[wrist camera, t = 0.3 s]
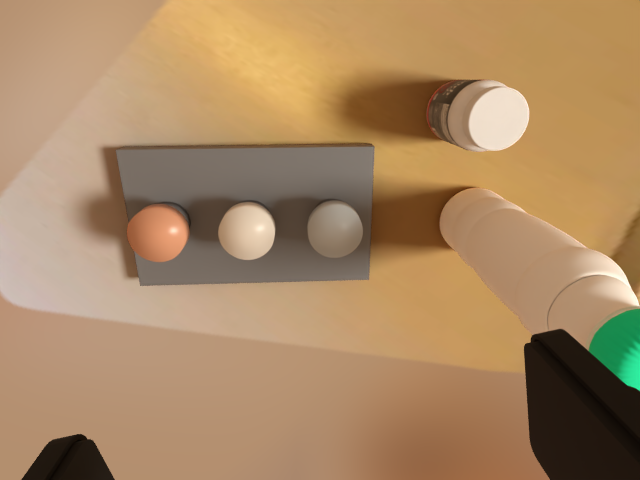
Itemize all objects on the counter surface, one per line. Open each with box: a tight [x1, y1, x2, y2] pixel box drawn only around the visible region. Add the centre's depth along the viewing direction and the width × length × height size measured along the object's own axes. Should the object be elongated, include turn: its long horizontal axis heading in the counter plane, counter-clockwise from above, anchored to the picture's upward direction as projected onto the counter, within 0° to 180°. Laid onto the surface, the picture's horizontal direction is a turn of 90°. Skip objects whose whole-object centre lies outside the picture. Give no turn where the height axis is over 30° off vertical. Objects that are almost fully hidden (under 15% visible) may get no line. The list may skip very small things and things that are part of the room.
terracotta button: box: [127, 204, 190, 262], centre depth 37 cm, size 5×5×2 cm
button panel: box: [116, 144, 374, 286], centre depth 41 cm, size 14×24×3 cm, turn 90°
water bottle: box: [440, 188, 640, 391], centre depth 33 cm, size 7×7×25 cm
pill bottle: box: [427, 80, 529, 152], centre depth 36 cm, size 6×6×10 cm
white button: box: [218, 202, 276, 260], centre depth 38 cm, size 5×5×2 cm
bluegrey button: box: [307, 200, 363, 258], centre depth 38 cm, size 5×5×2 cm
